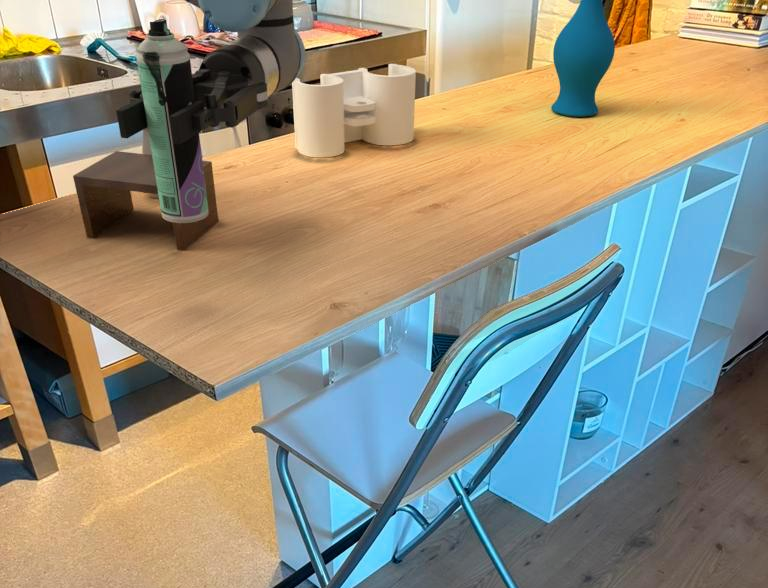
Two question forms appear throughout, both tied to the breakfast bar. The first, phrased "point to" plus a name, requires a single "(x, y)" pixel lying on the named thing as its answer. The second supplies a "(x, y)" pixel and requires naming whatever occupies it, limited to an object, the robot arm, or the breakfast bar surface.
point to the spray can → (162, 99)
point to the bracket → (354, 110)
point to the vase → (582, 59)
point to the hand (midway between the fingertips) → (148, 127)
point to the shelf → (113, 197)
